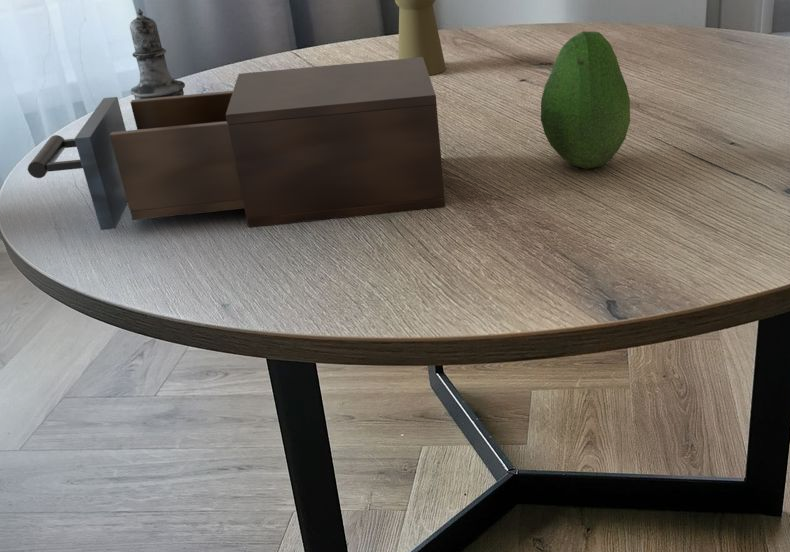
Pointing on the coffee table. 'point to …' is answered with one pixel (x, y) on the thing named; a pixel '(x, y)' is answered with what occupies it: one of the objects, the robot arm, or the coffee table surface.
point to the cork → (420, 34)
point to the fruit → (586, 102)
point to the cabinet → (336, 141)
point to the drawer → (153, 158)
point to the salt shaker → (151, 62)
